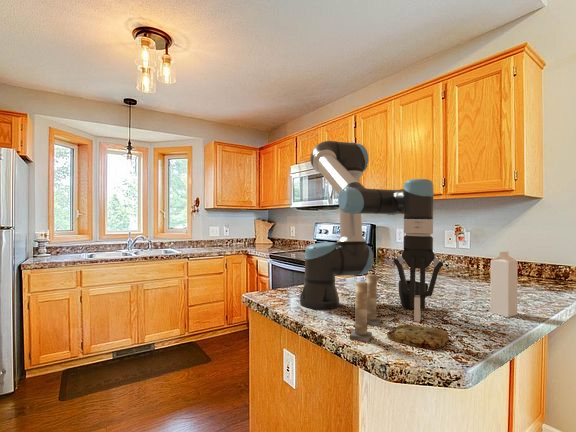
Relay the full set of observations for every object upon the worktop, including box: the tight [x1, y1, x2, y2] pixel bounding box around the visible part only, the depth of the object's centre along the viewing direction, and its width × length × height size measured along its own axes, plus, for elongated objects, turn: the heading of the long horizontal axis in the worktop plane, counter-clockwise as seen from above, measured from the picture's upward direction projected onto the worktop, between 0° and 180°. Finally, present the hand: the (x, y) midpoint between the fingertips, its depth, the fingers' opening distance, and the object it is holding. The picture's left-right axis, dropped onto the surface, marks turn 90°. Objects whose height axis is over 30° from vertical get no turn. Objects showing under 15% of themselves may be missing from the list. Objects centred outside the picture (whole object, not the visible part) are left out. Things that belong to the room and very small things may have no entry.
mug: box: [398, 279, 429, 311], centre depth 117 cm, size 8×12×10 cm
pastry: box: [386, 323, 450, 350], centre depth 86 cm, size 17×17×3 cm
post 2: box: [365, 273, 381, 327], centre depth 98 cm, size 5×5×15 cm
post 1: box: [349, 281, 373, 343], centre depth 86 cm, size 5×5×15 cm
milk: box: [489, 251, 519, 318], centre depth 110 cm, size 6×6×22 cm
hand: (417, 319), depth 86 cm, fingers closed
